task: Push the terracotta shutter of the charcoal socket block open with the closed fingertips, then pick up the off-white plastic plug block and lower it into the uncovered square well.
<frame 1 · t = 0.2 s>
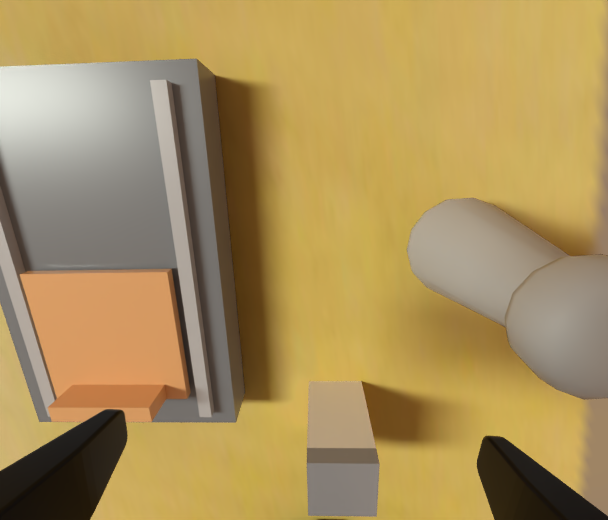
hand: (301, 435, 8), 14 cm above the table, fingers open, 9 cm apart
plug: (335, 402, 25), on the table
shutter: (100, 346, 19), point 5 cm above the table, slide at 0.0 cm
socket block: (141, 311, 23), on the table
salt shaker: (441, 238, 21), on the table
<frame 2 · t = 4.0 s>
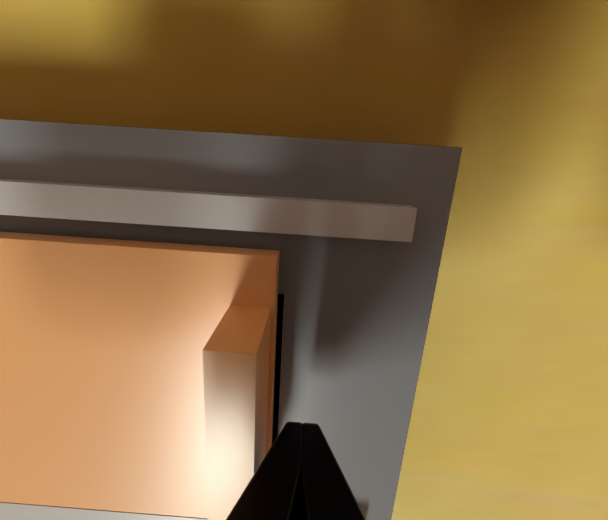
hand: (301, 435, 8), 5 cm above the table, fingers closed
shutter: (97, 416, 8), point 5 cm above the table, slide at 1.5 cm, touching gripper
socket block: (211, 330, 12), on the table
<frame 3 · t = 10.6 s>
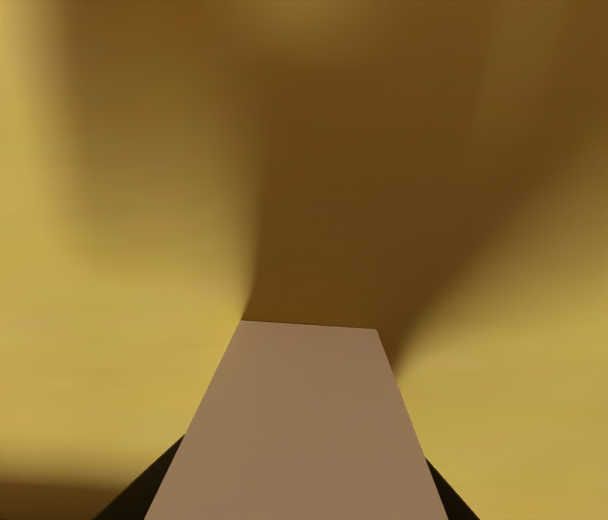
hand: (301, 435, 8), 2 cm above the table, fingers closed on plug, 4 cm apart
plug: (304, 382, 10), on the table, touching gripper
when the fingers open (3 cm above the table, at t = 15.3 s): plug drops 2 cm, resting in socket block.
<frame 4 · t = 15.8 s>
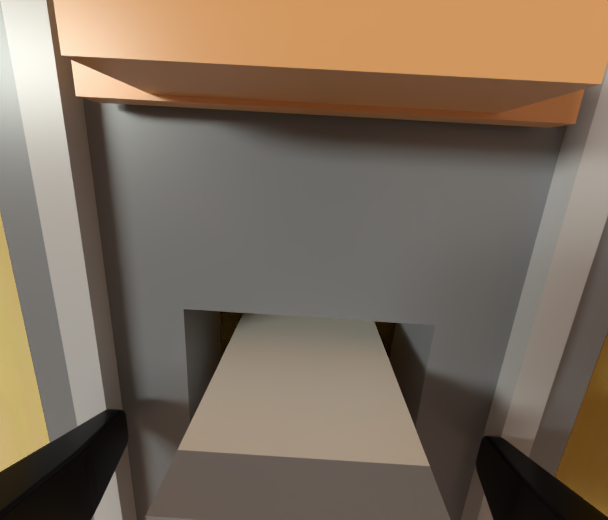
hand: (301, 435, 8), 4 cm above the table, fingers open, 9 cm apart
plug: (306, 353, 11), resting in socket block
socket block: (305, 355, 11), on the table
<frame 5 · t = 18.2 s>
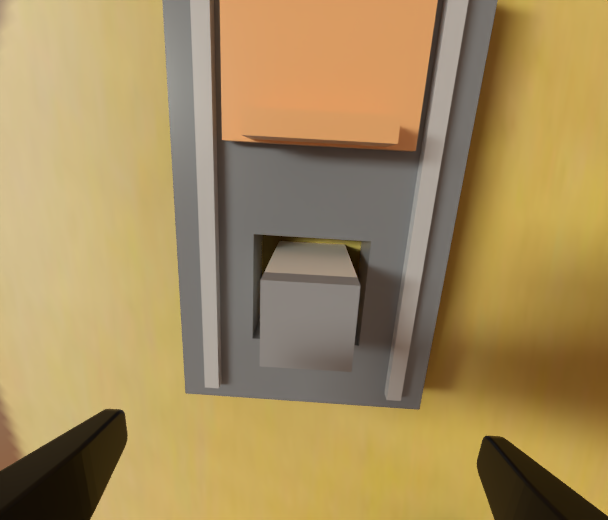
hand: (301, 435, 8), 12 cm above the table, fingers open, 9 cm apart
plug: (310, 273, 20), resting in socket block
shutter: (326, 25, 12), point 5 cm above the table, slide at 11.7 cm
socket block: (309, 274, 20), on the table
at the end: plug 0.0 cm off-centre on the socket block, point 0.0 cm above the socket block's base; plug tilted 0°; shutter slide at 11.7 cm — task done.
